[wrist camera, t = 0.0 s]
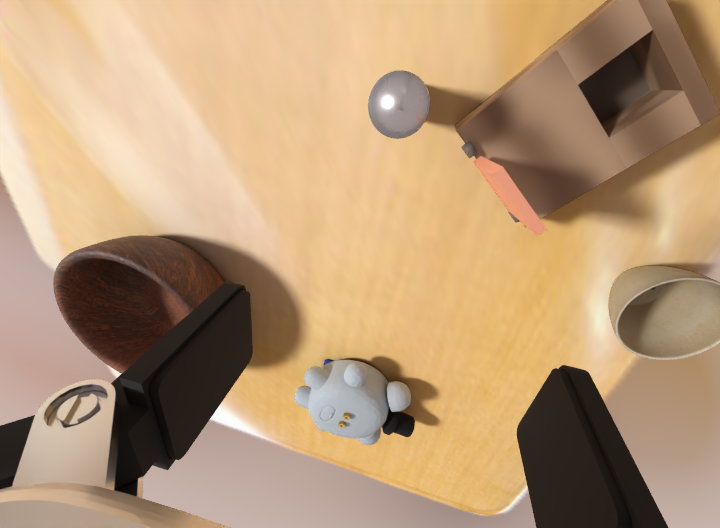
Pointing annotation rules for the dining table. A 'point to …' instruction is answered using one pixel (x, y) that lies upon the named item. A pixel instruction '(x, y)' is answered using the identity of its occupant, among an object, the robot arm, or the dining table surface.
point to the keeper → (509, 194)
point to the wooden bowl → (130, 293)
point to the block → (592, 104)
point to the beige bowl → (665, 312)
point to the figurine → (355, 401)
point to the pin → (399, 104)
